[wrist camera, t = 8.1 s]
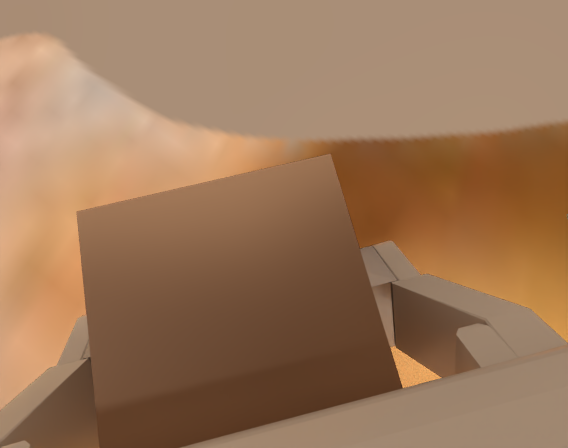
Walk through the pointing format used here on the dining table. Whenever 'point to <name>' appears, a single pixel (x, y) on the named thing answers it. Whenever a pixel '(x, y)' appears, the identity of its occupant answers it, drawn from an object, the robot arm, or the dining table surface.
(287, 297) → the walnut block
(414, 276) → the robot arm
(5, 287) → the dining table surface
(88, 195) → the dining table surface
